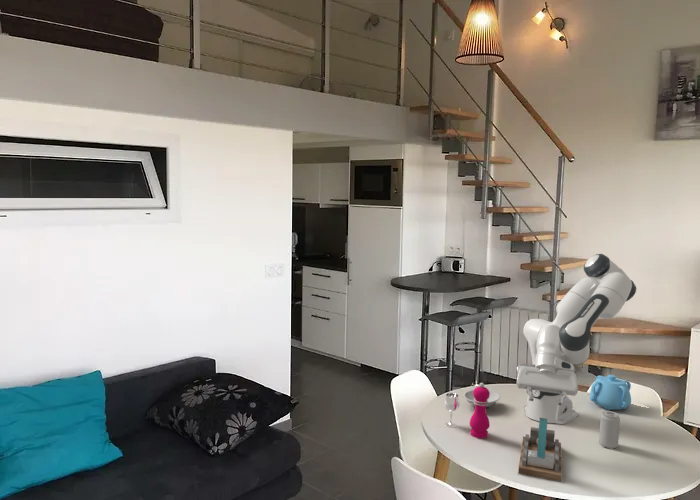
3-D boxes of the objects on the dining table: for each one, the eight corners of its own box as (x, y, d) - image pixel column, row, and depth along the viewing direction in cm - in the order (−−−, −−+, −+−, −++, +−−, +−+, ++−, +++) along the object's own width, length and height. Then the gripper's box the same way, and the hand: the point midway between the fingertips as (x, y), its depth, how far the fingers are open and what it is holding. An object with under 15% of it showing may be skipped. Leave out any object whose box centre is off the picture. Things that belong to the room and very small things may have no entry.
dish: (485, 417, 235) (485, 405, 234) (455, 407, 245) (455, 395, 244) (506, 406, 248) (507, 395, 247) (477, 397, 257) (478, 386, 257)
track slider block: (527, 458, 194) (530, 414, 193) (553, 462, 192) (556, 418, 190) (527, 464, 190) (530, 420, 188) (553, 469, 187) (556, 424, 185)
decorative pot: (634, 406, 254) (637, 375, 252) (625, 416, 241) (627, 384, 240) (595, 396, 264) (598, 367, 262) (584, 406, 251) (586, 375, 250)
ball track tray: (522, 441, 213) (524, 423, 212) (560, 448, 208) (562, 429, 208) (518, 473, 188) (519, 452, 188) (561, 481, 184) (562, 460, 183)
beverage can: (616, 443, 214) (619, 412, 213) (618, 450, 208) (621, 418, 207) (598, 440, 216) (600, 409, 215) (599, 447, 210) (601, 415, 209)
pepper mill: (489, 440, 213) (492, 387, 211) (469, 437, 215) (472, 385, 213) (488, 432, 220) (491, 380, 218) (469, 430, 222) (471, 378, 220)
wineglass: (454, 429, 222) (456, 398, 220) (440, 425, 225) (442, 395, 224) (460, 424, 227) (462, 394, 225) (446, 421, 230) (448, 391, 228)
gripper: (517, 358, 209) (514, 393, 201) (578, 365, 202) (577, 402, 194) (517, 367, 213) (514, 401, 205) (577, 374, 207) (576, 410, 199)
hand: (545, 402), depth 200 cm, fingers open, 8 cm apart
